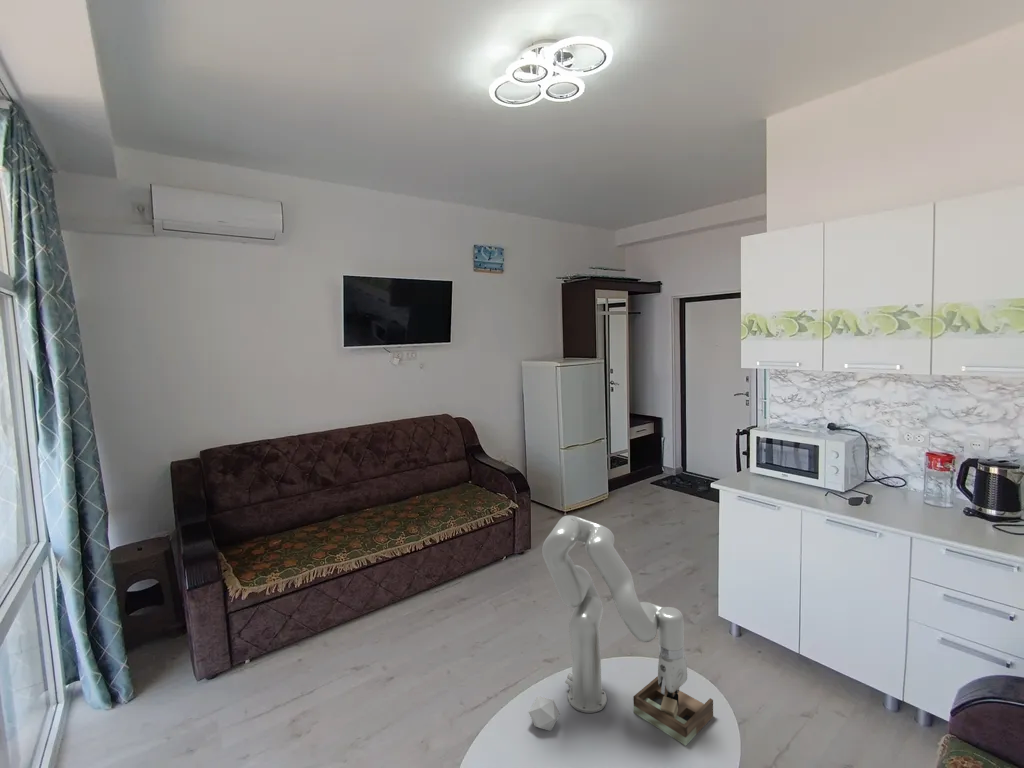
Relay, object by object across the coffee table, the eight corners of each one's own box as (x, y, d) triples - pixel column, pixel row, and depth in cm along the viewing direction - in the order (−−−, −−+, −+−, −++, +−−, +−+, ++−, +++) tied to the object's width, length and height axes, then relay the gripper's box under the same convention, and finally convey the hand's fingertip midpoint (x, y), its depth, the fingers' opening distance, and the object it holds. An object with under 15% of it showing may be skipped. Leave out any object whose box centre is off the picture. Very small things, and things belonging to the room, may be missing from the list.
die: (563, 721, 155) (550, 687, 159) (563, 727, 147) (549, 691, 151) (539, 734, 154) (526, 699, 159) (537, 740, 146) (523, 704, 151)
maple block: (661, 716, 151) (660, 707, 150) (665, 704, 154) (663, 695, 153) (675, 721, 149) (673, 712, 148) (678, 709, 152) (676, 700, 151)
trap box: (633, 712, 157) (633, 696, 156) (662, 687, 167) (662, 672, 167) (685, 745, 143) (685, 728, 143) (713, 716, 154) (713, 699, 153)
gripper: (668, 665, 145) (670, 724, 147) (694, 644, 155) (695, 699, 156) (647, 654, 151) (648, 710, 152) (673, 634, 161) (674, 687, 162)
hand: (672, 704), depth 154 cm, fingers closed
